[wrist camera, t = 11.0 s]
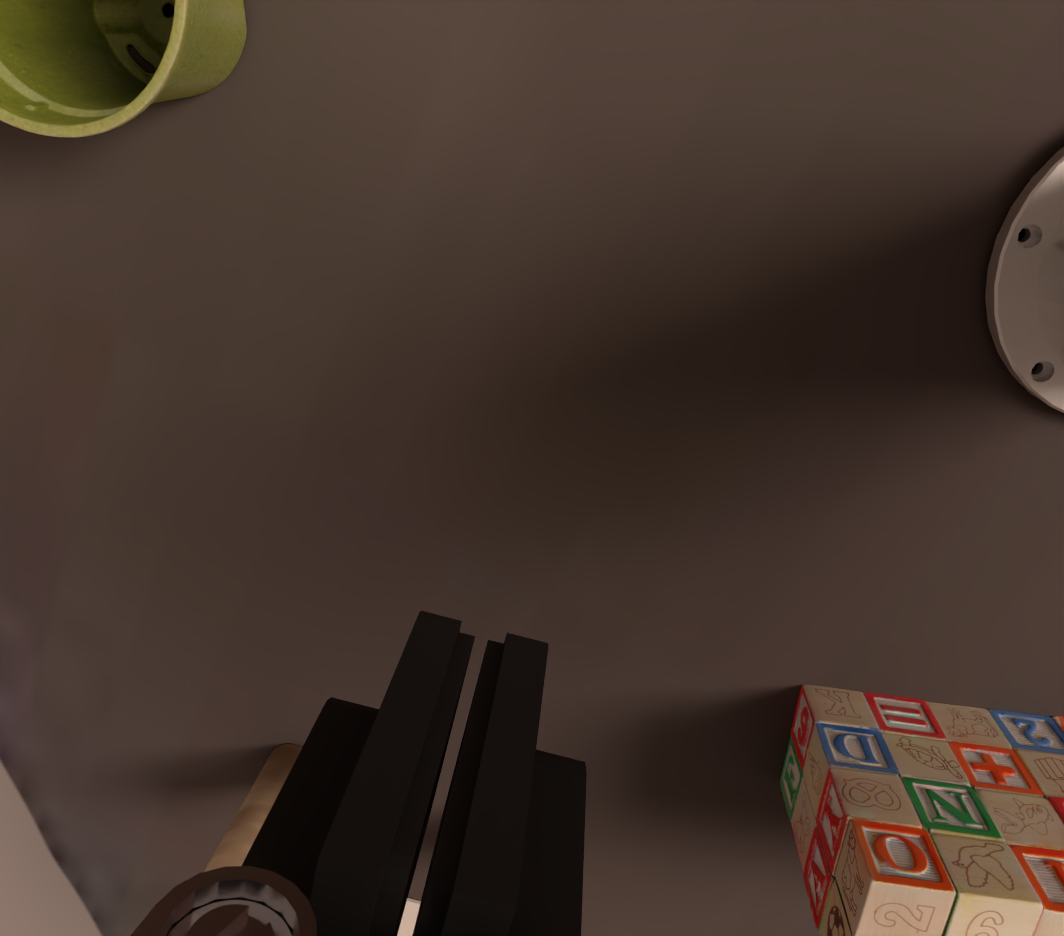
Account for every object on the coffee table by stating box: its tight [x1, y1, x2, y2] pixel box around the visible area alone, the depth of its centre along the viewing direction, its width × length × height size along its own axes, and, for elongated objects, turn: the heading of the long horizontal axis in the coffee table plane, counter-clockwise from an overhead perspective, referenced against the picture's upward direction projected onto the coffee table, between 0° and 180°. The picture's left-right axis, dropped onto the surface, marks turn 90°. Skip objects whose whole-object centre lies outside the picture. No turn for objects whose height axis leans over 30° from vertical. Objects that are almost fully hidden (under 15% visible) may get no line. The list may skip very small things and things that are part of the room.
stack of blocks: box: [780, 684, 1064, 936], centre depth 36 cm, size 21×6×12 cm, turn 85°
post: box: [204, 744, 302, 872], centre depth 41 cm, size 3×3×9 cm
